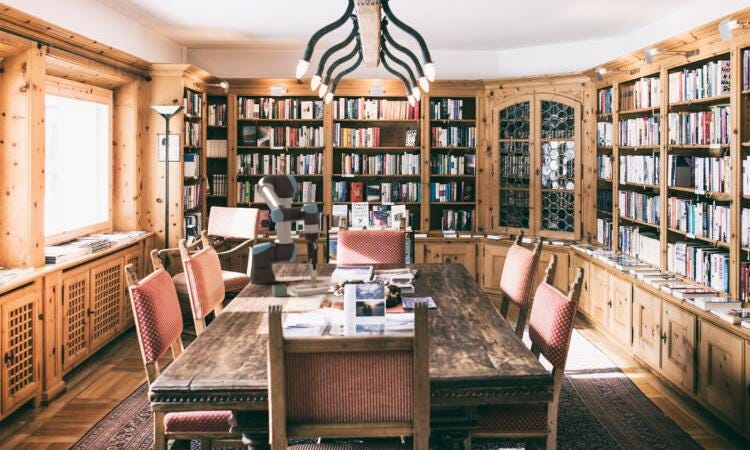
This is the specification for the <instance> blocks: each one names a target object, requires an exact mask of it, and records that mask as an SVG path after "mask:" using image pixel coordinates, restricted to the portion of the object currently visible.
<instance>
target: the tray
mask: <svg viewBox="0 0 750 450" xmlns="http://www.w3.org/2000/svg"><path fill="white" fill-rule="evenodd" d="M316 284H317V288H314V289H313V288H312V287H311V284H310V285H309V284H308V285H307V284H306V285H300V286H299V285H298V286H290V292H291V293H293V294H294V295H295V296H297V297H303V296H304V297H305V296H312V295H320V294H323V295H324V294H326V293H325V292H327V291H328V290H329V289H331V288H330V287H331V286H332V285H333V284H331V283H330V282H329V283H328V282H327V283H316Z"/></svg>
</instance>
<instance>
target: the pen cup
mask: <svg viewBox="0 0 750 450" xmlns="http://www.w3.org/2000/svg"><path fill="white" fill-rule="evenodd" d="M271 294H272V296H273V297H285V296H288V287H287V285H286V284H274V285H271Z"/></svg>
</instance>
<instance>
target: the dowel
mask: <svg viewBox="0 0 750 450" xmlns="http://www.w3.org/2000/svg"><path fill="white" fill-rule="evenodd" d="M311 263H312V259H310V263H309V267H310V266H311ZM310 282H311V283H310V285H311V287H312V288H313V289H314V288H317V284H318V283H317V276H312V268H311V275H310Z"/></svg>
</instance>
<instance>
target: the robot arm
mask: <svg viewBox="0 0 750 450" xmlns="http://www.w3.org/2000/svg"><path fill="white" fill-rule="evenodd" d="M297 191H298V185H297V181H296V178H295V176H294V175H292V174H270V175H269V174H268V175H264V176H263V177H262V178H260V179H259V180H258V183H257V185H256V192H257V194H258V196H259V197H260V198H262V199H263V200H264V201H265V203H266V205H267V206H268V208H269V209H270V217H271V221H272V222H273V223H276V238H275V239H274V242H273V243H274V244H272V243H271V242H262V243H258V244H255V245H253V246H252V248H251V256H252V271H251V272H252V273H251V277H250V283H251V284H253V283H254V285H258V284H259V285H260V284H261V285H263V284H272V283H275V282H277V277H276V275H275V271H274V268H273V264H284V263H286V264H287V263H292V262H294V261H295V260H296V258H297V253H298V247H297V244H296V242H294V240H293V239H292V222H300V221H303V229H304V240H306V241H308V242H307V243H306V249H307V262H308V263H309V264H310V259H312V263H311V266H310V265H309V276H311V268H312V276H316V277H317V276H318V269H317V265H318V263H319V262H318V260H319V257H318V256H319V255H318V254H319V253H318V251H319V250H318V249H319V245H317V241H316V240H319V239H320V235H319V234H320V233H319V215H318V214H319V213H318V211H319V210H318V205H317V203H305V204H303V206H300V207H299V206H298V207H297V206H295V207H292V199H293V198H294V195H295V194H297Z"/></svg>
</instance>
